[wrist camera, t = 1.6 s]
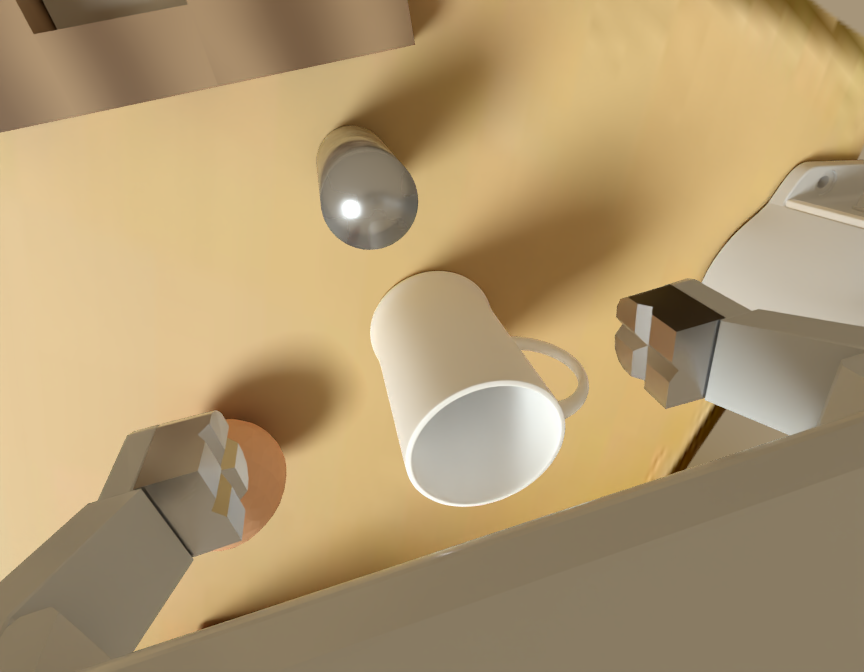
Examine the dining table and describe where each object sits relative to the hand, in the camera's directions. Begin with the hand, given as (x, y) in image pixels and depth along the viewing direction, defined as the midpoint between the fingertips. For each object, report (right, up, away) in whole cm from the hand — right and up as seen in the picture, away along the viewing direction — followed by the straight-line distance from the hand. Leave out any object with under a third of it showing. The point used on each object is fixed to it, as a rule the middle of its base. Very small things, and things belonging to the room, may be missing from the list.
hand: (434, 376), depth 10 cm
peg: (-4, +10, +17) cm, 20 cm away
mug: (+2, +2, +24) cm, 24 cm away
